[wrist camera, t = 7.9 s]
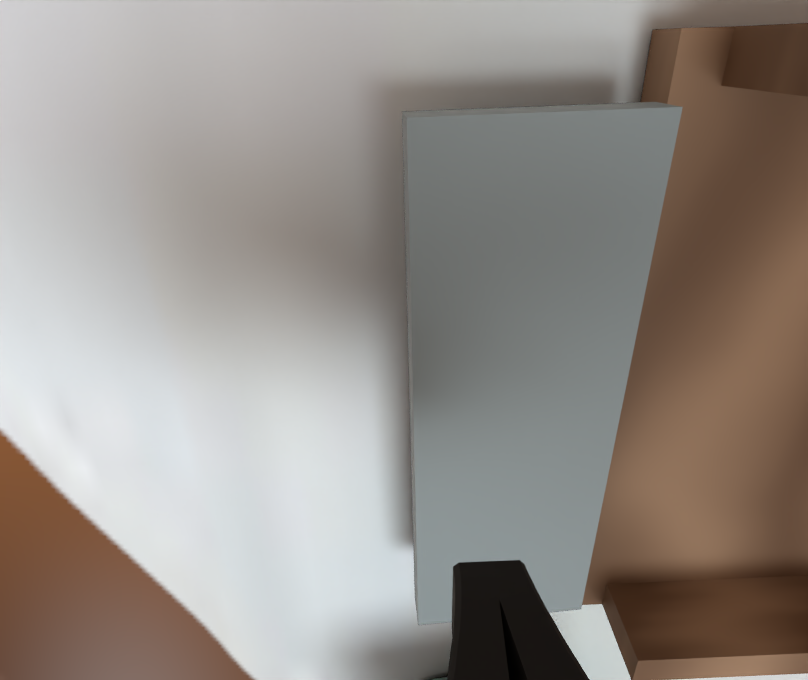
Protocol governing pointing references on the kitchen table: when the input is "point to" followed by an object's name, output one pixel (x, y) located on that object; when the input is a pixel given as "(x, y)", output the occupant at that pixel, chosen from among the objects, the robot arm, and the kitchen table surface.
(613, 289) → the panel
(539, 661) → the robot arm
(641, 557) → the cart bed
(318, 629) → the kitchen table surface
